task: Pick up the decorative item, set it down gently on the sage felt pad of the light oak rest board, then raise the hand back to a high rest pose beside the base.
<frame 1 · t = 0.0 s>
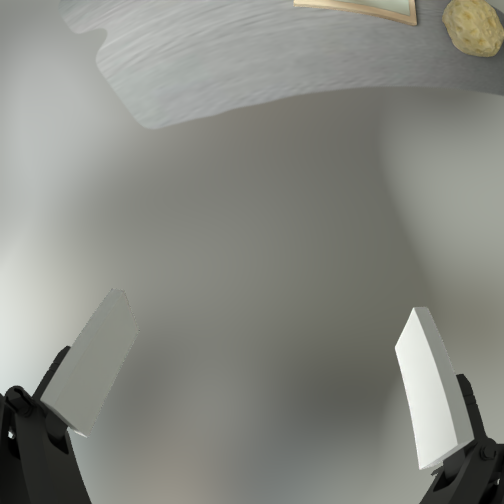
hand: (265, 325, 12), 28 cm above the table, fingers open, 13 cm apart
decorative item: (462, 28, 20), on the table
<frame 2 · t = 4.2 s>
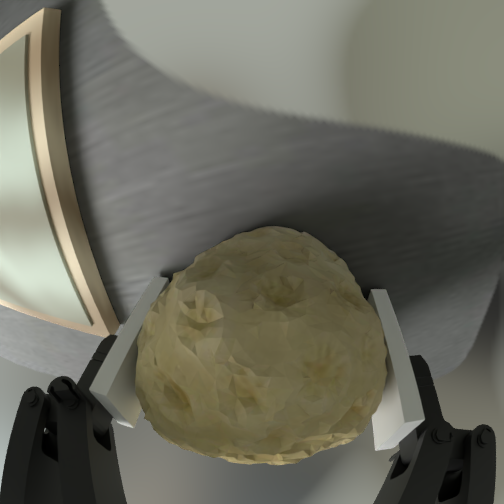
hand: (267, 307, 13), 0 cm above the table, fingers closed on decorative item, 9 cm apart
decorative item: (270, 300, 13), on the table, touching gripper
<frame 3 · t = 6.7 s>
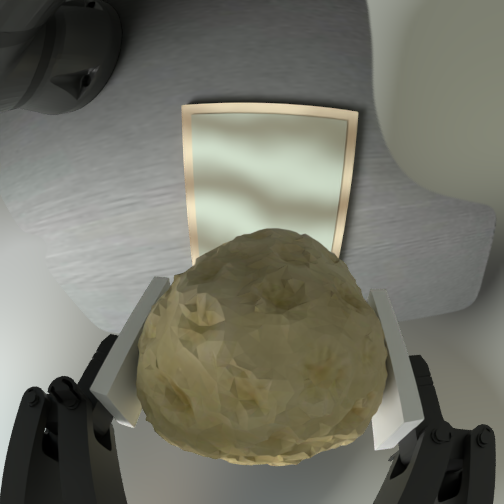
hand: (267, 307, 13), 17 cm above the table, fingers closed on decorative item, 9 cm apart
rest board: (266, 193, 27), on the table
decorative item: (270, 302, 13), point 16 cm above the table, touching gripper
when the fingers open (2 cm above the table, at t = 9.3 s): decorative item stays where it is, resting on rest board.
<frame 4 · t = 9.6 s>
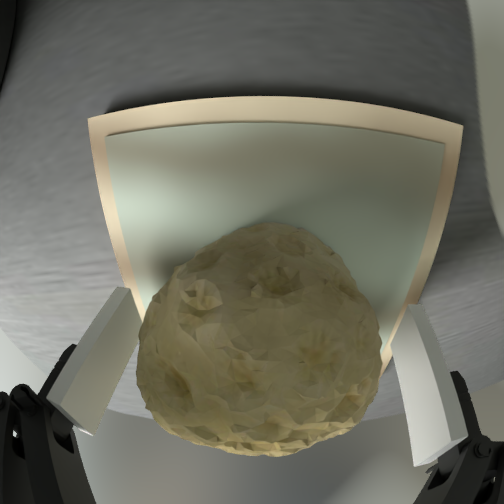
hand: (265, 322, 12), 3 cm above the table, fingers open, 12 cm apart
rest board: (270, 281, 15), on the table
decorative item: (268, 295, 14), point 1 cm above the table, touching rest board
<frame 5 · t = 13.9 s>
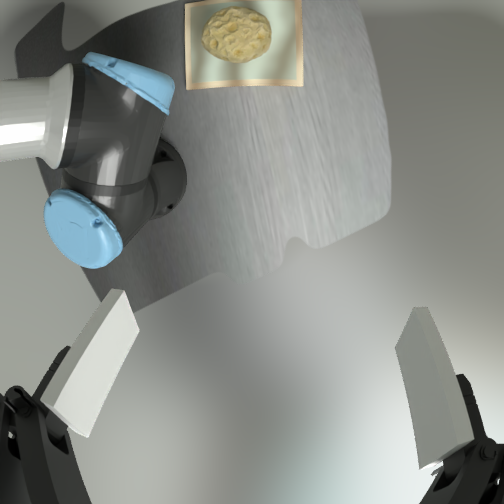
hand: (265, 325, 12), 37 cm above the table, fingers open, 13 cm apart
rest board: (243, 40, 34), on the table
decorative item: (241, 38, 33), point 1 cm above the table, touching rest board
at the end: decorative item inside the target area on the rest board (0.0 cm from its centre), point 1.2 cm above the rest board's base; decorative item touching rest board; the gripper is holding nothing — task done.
